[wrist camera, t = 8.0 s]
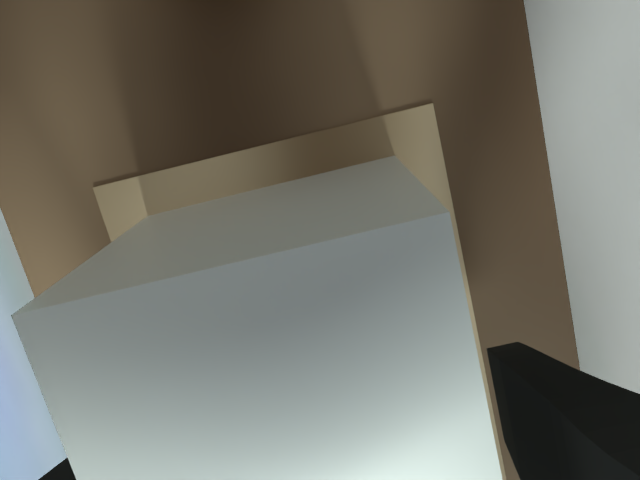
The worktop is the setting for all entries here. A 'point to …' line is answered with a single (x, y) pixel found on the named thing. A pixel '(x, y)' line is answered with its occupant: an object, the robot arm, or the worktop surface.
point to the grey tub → (270, 340)
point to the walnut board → (285, 131)
